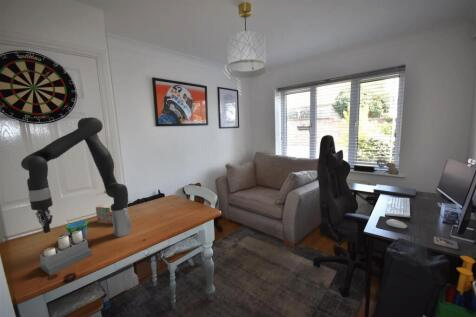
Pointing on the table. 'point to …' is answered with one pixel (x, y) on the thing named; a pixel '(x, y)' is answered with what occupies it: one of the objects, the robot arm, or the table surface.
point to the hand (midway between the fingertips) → (47, 232)
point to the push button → (67, 235)
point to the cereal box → (104, 213)
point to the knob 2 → (77, 237)
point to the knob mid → (63, 243)
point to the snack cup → (78, 228)
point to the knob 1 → (49, 252)
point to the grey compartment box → (64, 257)
